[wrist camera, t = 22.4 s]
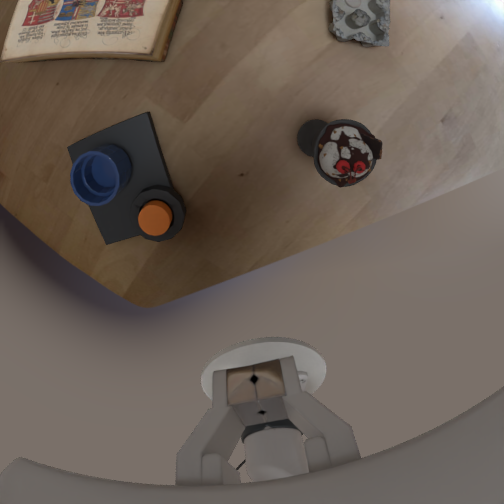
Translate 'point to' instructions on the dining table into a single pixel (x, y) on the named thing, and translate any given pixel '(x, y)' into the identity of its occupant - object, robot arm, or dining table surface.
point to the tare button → (155, 218)
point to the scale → (134, 180)
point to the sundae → (340, 150)
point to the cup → (100, 174)
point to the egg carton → (361, 21)
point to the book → (90, 30)
